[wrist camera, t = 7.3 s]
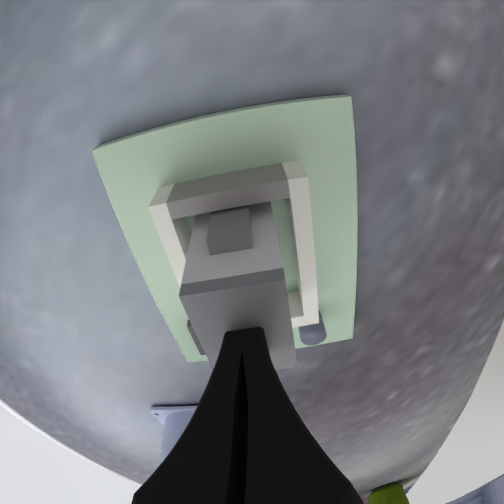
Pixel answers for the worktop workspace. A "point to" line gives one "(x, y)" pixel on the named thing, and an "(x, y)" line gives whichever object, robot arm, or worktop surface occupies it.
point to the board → (246, 203)
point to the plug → (237, 281)
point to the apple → (388, 495)
